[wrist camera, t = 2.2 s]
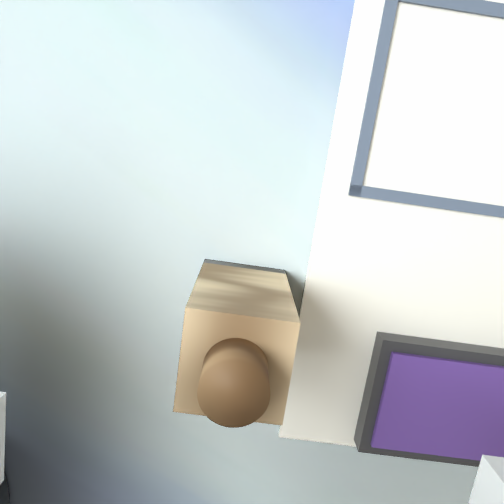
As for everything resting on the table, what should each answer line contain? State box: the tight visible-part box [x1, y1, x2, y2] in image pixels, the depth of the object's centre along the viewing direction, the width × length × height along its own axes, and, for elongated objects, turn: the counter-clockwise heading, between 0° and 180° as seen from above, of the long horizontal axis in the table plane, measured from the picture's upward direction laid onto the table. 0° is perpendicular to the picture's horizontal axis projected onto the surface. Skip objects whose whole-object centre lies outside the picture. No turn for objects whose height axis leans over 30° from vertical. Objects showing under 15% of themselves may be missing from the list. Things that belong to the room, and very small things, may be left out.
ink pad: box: [354, 331, 504, 467], centre depth 26 cm, size 10×7×2 cm
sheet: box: [278, 0, 504, 447], centre depth 25 cm, size 17×26×1 cm, turn 172°
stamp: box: [173, 259, 301, 428], centre depth 21 cm, size 4×4×10 cm
